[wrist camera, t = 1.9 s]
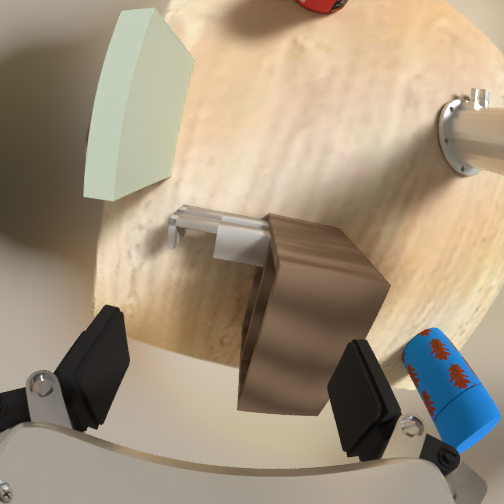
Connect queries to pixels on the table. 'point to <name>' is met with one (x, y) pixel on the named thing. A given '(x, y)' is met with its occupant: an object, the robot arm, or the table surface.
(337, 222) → the table surface
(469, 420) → the thermos
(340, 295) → the cabinet
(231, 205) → the table surface
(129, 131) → the door
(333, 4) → the canned food
